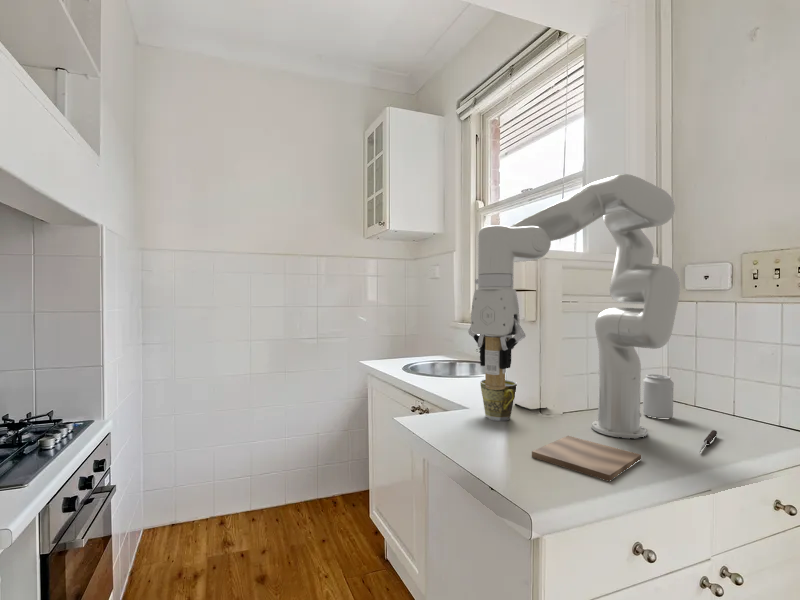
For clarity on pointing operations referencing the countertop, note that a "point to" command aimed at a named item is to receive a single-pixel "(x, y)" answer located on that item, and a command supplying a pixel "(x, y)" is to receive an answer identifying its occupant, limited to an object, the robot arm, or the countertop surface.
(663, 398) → the can
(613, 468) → the walnut board
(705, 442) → the kitchen knife
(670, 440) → the countertop surface
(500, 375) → the sprinkles bottle
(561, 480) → the countertop surface
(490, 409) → the ceramic cup
